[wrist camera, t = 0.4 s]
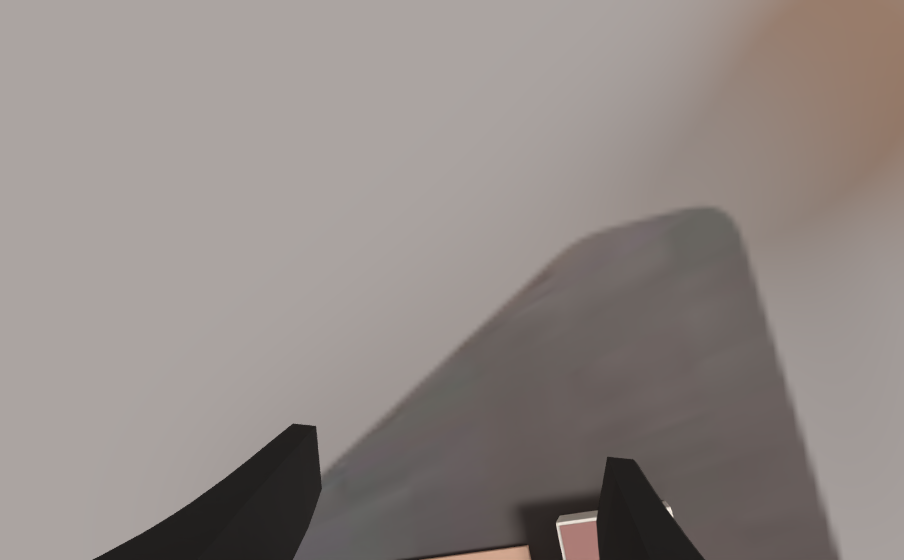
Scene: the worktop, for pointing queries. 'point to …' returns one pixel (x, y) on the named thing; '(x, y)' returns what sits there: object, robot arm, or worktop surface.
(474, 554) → the mat
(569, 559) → the card box
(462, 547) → the worktop surface
